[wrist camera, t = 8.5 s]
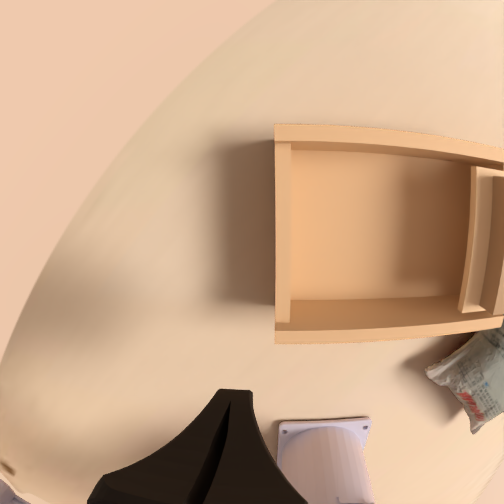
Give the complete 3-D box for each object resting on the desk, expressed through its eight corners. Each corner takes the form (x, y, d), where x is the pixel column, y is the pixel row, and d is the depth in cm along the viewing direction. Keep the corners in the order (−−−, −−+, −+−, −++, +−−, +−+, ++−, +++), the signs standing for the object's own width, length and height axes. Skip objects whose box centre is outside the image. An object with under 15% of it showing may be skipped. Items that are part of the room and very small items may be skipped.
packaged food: (462, 418, 23) (481, 448, 18) (415, 358, 21) (439, 393, 17) (521, 359, 21) (547, 383, 16) (488, 284, 20) (524, 305, 15)
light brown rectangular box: (465, 299, 20) (501, 327, 15) (275, 306, 21) (274, 344, 16) (476, 155, 17) (520, 153, 12) (274, 138, 19) (273, 124, 14)
